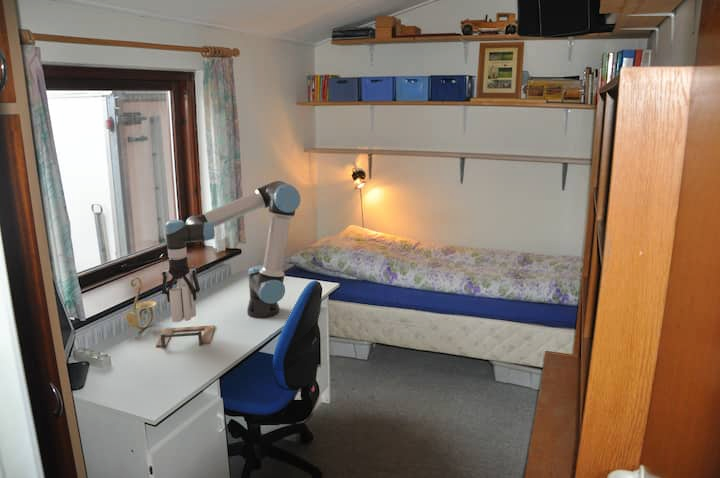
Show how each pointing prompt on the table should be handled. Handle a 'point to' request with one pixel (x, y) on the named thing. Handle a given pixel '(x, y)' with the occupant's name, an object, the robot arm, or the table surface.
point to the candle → (182, 300)
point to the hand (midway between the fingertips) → (182, 307)
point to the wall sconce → (131, 317)
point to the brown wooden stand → (187, 334)
